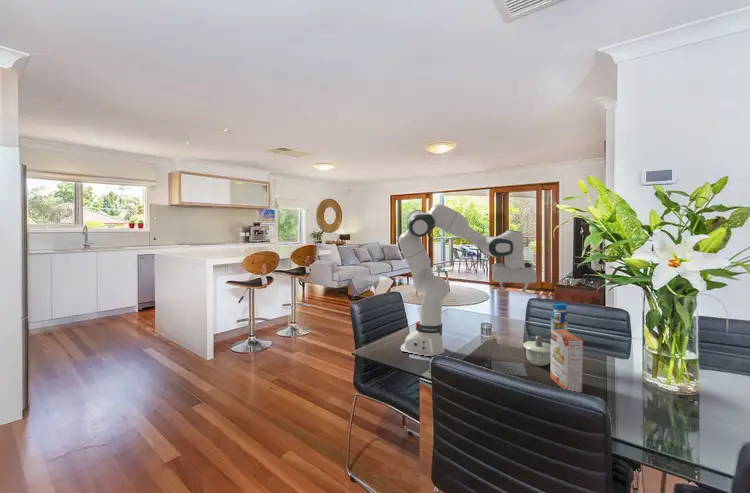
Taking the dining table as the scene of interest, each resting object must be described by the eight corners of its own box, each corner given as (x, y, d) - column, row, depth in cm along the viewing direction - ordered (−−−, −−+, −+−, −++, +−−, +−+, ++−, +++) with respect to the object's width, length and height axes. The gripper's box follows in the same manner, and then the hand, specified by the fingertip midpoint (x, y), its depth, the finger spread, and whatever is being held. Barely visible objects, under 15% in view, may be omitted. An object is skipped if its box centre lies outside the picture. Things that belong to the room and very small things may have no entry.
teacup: (528, 357, 169) (529, 341, 168) (554, 362, 163) (554, 345, 162) (522, 367, 158) (522, 349, 157) (548, 372, 151) (549, 354, 151)
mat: (492, 373, 151) (492, 372, 151) (490, 361, 164) (490, 360, 164) (527, 377, 147) (527, 376, 147) (523, 364, 161) (523, 363, 161)
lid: (525, 351, 155) (525, 339, 155) (521, 341, 168) (521, 331, 167) (558, 353, 152) (558, 342, 152) (550, 343, 164) (551, 333, 164)
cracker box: (549, 378, 146) (550, 328, 145) (563, 378, 146) (564, 328, 145) (566, 394, 132) (567, 339, 131) (582, 394, 132) (584, 339, 131)
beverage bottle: (547, 337, 198) (547, 302, 197) (561, 336, 199) (562, 301, 198) (556, 342, 190) (557, 305, 189) (571, 341, 191) (572, 305, 190)
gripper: (491, 263, 171) (491, 291, 172) (537, 264, 166) (537, 293, 166) (491, 262, 177) (491, 289, 178) (535, 263, 172) (534, 291, 173)
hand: (513, 291), depth 172 cm, fingers open, 8 cm apart
